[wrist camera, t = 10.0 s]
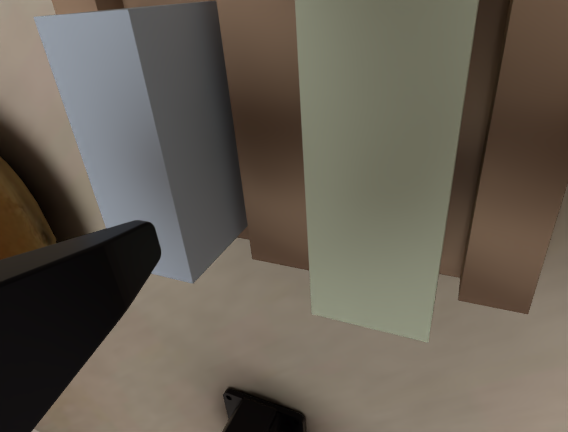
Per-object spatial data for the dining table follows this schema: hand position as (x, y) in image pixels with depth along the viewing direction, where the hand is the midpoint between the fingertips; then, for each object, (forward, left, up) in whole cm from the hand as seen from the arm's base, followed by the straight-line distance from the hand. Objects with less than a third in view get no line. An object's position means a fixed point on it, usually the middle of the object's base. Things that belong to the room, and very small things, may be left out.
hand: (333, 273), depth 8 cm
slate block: (0, +9, -9) cm, 13 cm away
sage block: (0, 0, -9) cm, 9 cm away
